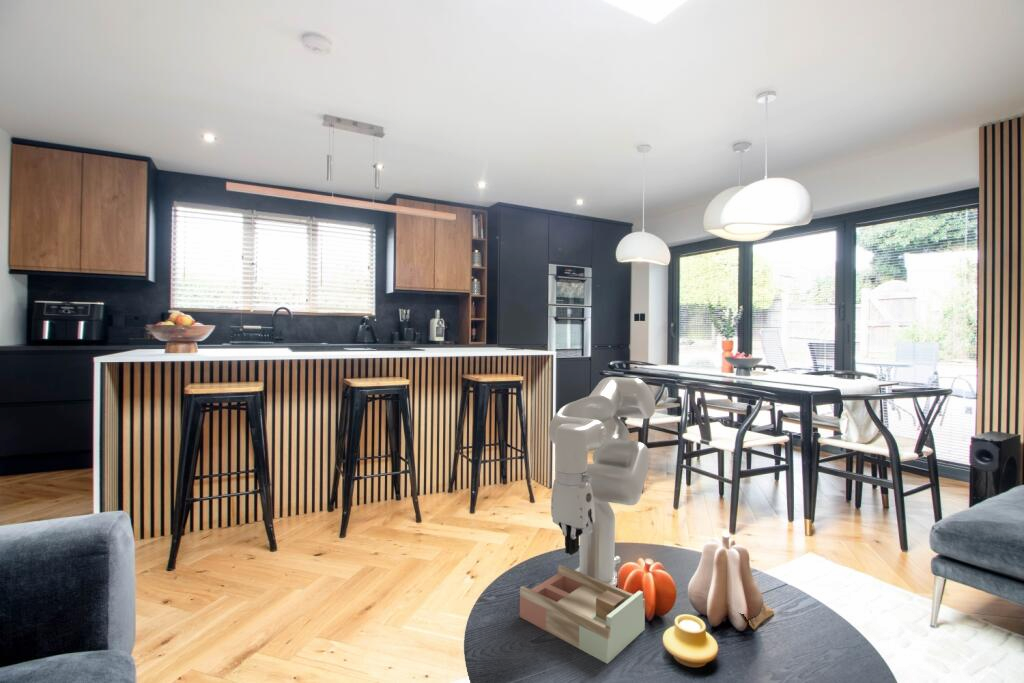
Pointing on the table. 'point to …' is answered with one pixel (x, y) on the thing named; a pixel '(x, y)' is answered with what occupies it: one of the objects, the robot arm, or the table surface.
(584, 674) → the table surface
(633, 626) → the box
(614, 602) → the walnut block
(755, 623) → the shard
